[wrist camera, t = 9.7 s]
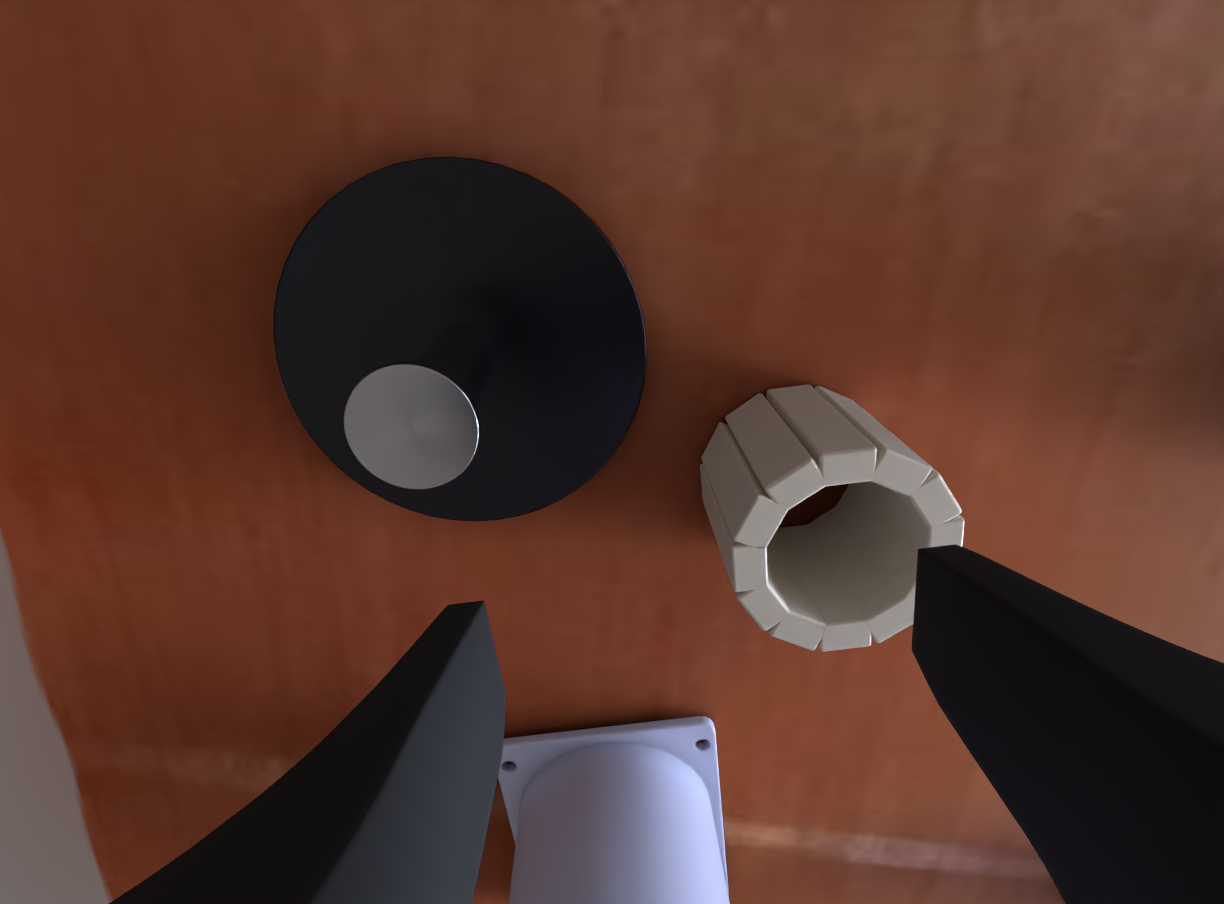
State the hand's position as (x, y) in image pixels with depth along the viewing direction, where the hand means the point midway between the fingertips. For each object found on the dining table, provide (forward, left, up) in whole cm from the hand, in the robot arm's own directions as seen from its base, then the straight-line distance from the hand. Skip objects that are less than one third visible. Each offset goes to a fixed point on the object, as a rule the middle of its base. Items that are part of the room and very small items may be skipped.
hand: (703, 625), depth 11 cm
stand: (+3, +5, -9) cm, 11 cm away
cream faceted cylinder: (-2, -4, -9) cm, 10 cm away
